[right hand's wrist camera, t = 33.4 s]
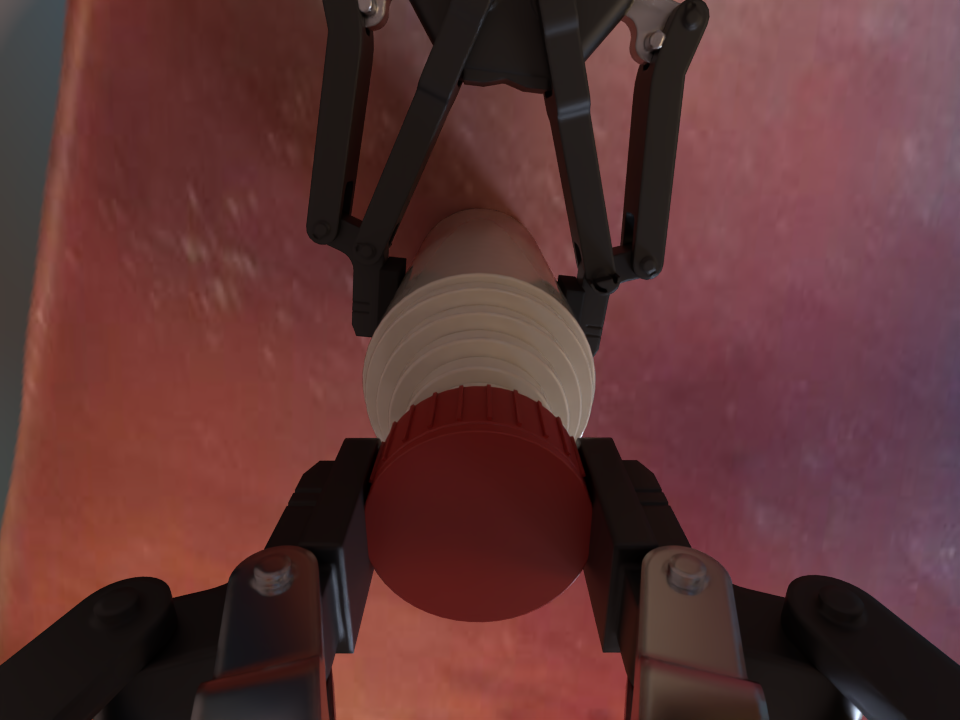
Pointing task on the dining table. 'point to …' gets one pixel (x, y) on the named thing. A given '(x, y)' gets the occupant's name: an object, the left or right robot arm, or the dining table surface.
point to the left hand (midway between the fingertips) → (467, 409)
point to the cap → (478, 506)
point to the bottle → (479, 325)
